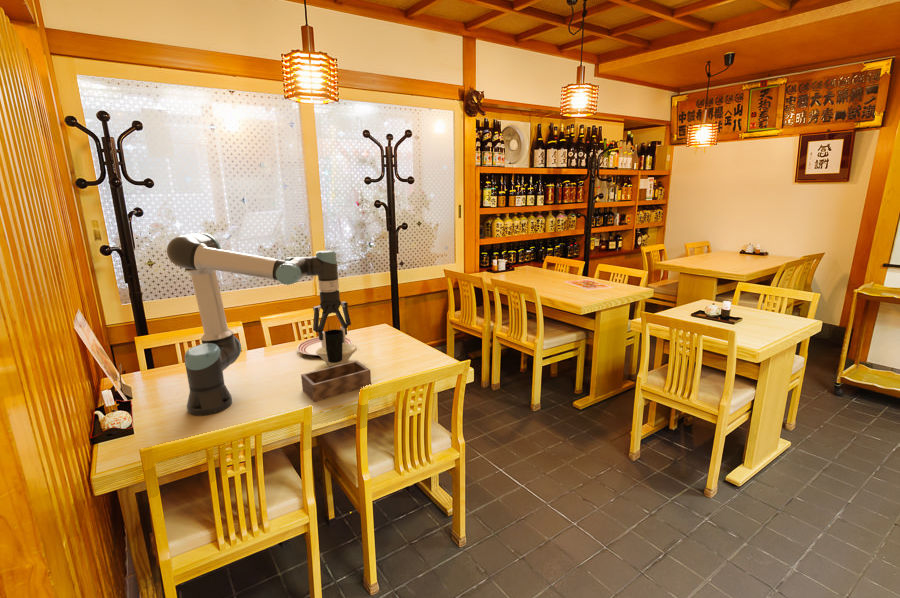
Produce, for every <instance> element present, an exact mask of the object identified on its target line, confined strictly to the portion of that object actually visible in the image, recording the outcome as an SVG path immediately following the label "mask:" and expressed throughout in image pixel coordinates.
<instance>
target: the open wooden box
mask: <svg viewBox="0 0 900 598" xmlns="http://www.w3.org/2000/svg"><path fill="white" fill-rule="evenodd" d="M371 375H372V373H371V369H370V368H369V367H367V366H366V365H365V364H362V363H361V362H359V361H358V360H354V361H350V362H347V363H345V364H341V365H337V366H333V367H330V366H329V367H325V368H321V369H317V370H314V371H309V372H306V373H302V374H300V376H301V377H300V379H301V388H302V392H304V393H305V394H306V396H307V397H309V398H310V399H311V400H312V401H313V402H314V403H316V402H320V401H323V400H326V399H327V400H328V399H329V398H334V397H337V396H339V395H344V394H347V393H351V392H354V391H357V390H361V389H362V388H361V387H363V386H366V385H369V384H371V385H372V376H371ZM360 388H361V389H360Z"/></svg>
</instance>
